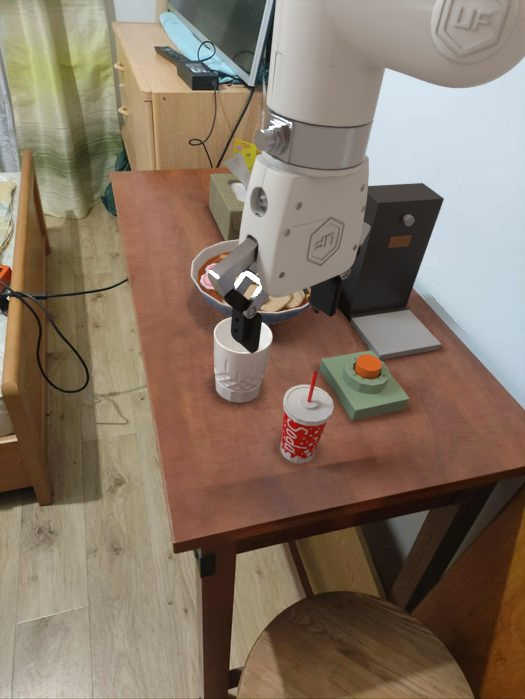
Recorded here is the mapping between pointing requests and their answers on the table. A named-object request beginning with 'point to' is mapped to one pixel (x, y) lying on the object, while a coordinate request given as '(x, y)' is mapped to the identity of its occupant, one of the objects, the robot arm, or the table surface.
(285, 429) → the beverage cup
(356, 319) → the coffee maker
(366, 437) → the table surface
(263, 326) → the white cup
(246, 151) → the crayon box
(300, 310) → the ramen bowl
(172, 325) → the table surface
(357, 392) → the brew pad
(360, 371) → the button
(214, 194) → the tissue box
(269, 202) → the robot arm
